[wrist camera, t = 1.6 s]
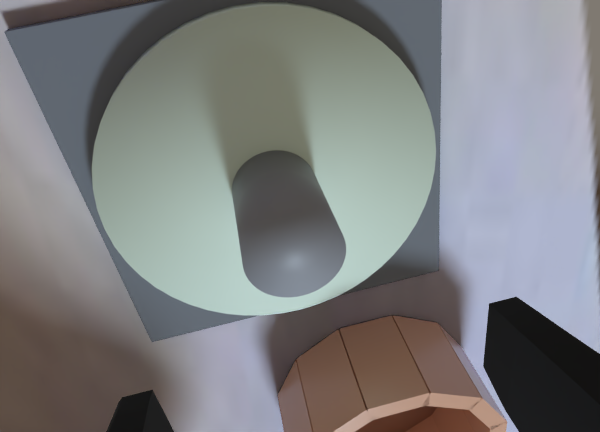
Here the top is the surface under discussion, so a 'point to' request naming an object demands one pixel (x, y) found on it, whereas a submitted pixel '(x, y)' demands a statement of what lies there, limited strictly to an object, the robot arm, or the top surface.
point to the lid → (263, 159)
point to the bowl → (387, 383)
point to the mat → (141, 36)
